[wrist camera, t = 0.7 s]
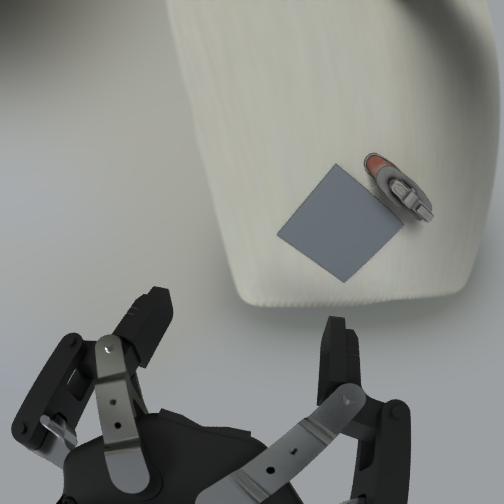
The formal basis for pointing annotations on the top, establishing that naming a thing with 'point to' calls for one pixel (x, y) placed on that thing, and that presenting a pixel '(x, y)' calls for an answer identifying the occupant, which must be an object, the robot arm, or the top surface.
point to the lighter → (399, 187)
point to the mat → (340, 225)
